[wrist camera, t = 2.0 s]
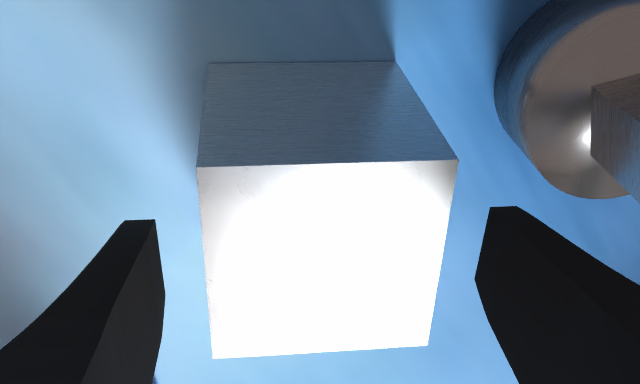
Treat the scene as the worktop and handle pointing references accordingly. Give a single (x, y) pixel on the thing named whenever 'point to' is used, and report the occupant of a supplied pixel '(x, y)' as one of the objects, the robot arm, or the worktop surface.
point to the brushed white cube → (320, 207)
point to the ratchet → (576, 95)
